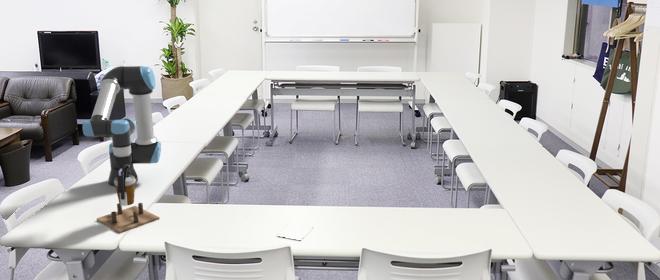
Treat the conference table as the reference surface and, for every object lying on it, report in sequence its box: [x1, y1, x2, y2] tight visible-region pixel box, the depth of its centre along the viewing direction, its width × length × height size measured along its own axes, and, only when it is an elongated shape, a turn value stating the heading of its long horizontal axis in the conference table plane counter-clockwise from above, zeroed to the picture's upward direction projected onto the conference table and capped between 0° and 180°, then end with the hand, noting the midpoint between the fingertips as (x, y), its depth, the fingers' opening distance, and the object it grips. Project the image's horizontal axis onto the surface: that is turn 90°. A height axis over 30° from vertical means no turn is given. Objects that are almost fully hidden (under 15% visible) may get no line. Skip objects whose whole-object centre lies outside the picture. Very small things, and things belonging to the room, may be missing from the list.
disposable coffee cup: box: [114, 176, 137, 206], centre depth 250 cm, size 10×10×12 cm
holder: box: [96, 202, 160, 234], centre depth 254 cm, size 20×20×6 cm
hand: (126, 201), depth 252 cm, fingers closed on disposable coffee cup, 8 cm apart
